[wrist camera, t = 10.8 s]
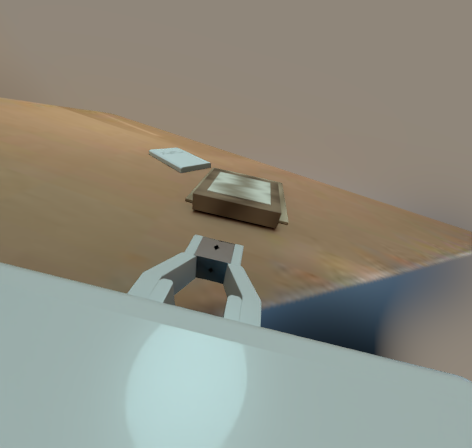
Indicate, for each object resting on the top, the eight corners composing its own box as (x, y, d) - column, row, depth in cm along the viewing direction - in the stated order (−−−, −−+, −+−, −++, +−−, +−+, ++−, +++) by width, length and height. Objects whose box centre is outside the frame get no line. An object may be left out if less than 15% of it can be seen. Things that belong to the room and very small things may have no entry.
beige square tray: (185, 200, 26) (185, 198, 26) (213, 169, 39) (213, 167, 39) (287, 224, 26) (288, 222, 25) (281, 184, 39) (282, 183, 38)
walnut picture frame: (192, 192, 22) (214, 167, 31) (192, 209, 24) (213, 180, 33) (281, 212, 22) (278, 181, 31) (275, 228, 24) (273, 194, 33)
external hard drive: (180, 175, 35) (149, 156, 40) (210, 169, 40) (179, 153, 46) (180, 167, 34) (148, 149, 39) (211, 162, 39) (179, 146, 45)
